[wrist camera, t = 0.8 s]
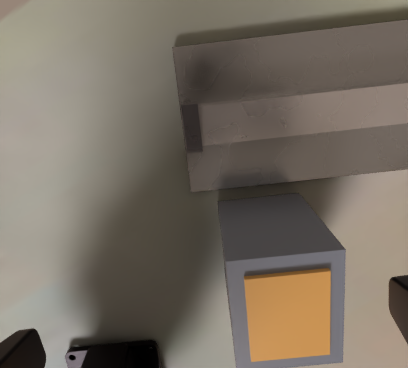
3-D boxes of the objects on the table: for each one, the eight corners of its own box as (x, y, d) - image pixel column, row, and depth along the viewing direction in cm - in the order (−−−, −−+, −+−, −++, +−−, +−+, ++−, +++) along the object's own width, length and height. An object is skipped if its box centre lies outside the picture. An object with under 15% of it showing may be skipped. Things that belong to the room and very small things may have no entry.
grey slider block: (300, 277, 22) (345, 366, 16) (226, 284, 23) (237, 376, 16) (298, 192, 21) (348, 252, 14) (217, 201, 21) (225, 264, 14)
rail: (526, 153, 20) (572, 164, 18) (191, 189, 20) (190, 204, 18) (555, 3, 17) (613, -9, 15) (173, 48, 18) (169, 44, 16)
